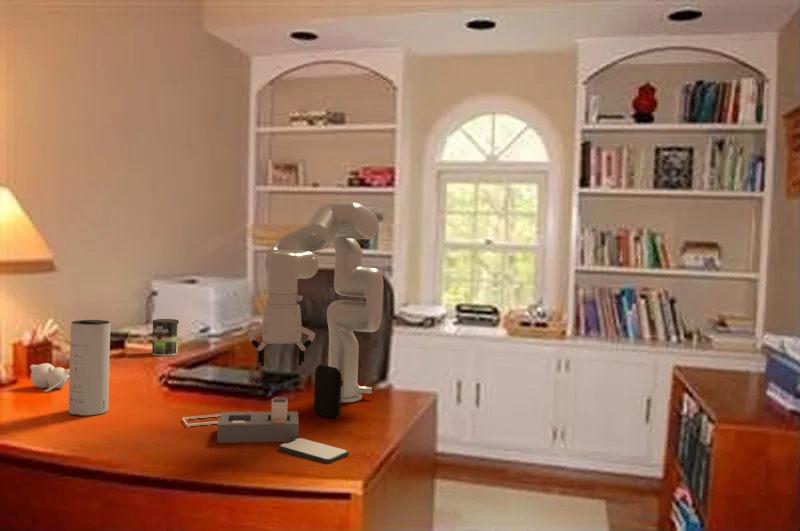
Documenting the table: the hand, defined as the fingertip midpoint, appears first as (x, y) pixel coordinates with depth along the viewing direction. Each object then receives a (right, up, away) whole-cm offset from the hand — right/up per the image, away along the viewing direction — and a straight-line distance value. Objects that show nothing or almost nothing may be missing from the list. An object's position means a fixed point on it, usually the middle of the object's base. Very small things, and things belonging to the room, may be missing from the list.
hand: (281, 365), depth 178 cm
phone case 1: (-21, -18, +11) cm, 29 cm away
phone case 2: (+10, -20, -13) cm, 26 cm away
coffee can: (-67, -11, +106) cm, 126 cm away
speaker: (-57, -16, +15) cm, 61 cm away
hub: (-6, -18, 0) cm, 19 cm away
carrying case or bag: (+10, -18, +19) cm, 28 cm away
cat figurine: (-82, -14, +40) cm, 92 cm away
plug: (-1, -17, 0) cm, 17 cm away
